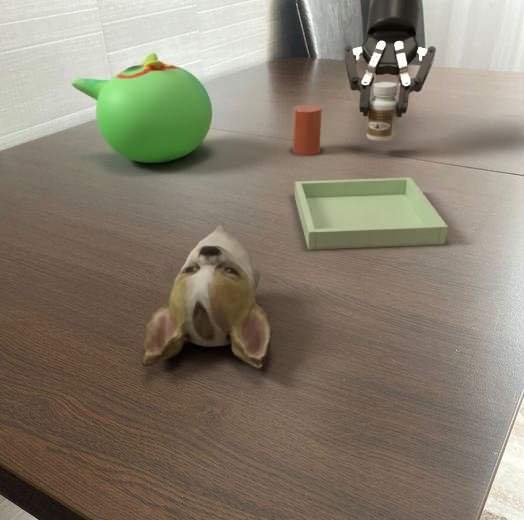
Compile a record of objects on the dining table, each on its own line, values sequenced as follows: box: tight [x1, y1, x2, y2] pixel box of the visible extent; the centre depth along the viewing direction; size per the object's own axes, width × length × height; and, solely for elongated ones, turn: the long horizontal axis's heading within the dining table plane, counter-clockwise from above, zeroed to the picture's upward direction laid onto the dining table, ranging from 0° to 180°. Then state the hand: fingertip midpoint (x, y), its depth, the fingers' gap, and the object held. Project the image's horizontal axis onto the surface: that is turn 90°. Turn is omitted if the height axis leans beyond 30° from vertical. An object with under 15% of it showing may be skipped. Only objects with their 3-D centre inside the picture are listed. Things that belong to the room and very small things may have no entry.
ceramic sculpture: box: [141, 225, 273, 370], centre depth 48 cm, size 11×9×15 cm
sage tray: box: [294, 177, 449, 250], centre depth 68 cm, size 16×16×2 cm
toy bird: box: [70, 52, 213, 164], centre depth 85 cm, size 18×17×15 cm
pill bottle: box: [365, 81, 399, 142], centre depth 84 cm, size 4×4×8 cm
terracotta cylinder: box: [292, 104, 323, 157], centre depth 88 cm, size 4×4×7 cm
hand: (382, 113), depth 83 cm, fingers closed on pill bottle, 4 cm apart
